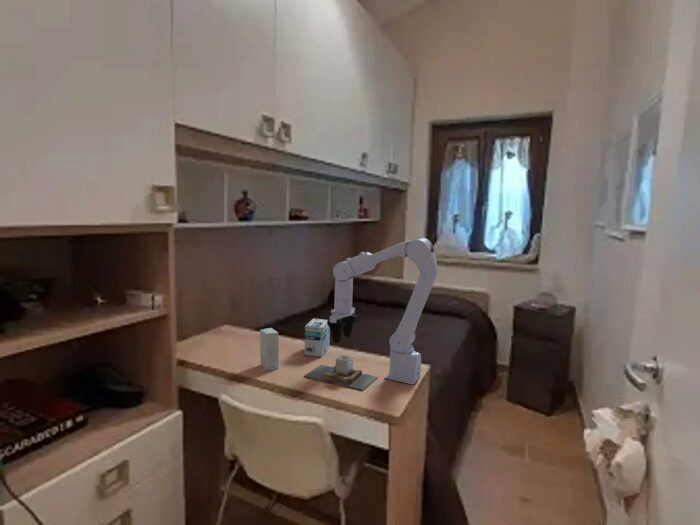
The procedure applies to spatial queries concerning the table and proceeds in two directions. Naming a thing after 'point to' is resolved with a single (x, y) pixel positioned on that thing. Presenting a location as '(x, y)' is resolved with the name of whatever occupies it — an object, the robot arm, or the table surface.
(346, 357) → the aluminium block
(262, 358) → the skincare box
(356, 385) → the dock
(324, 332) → the light bulb box
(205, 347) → the table surface
